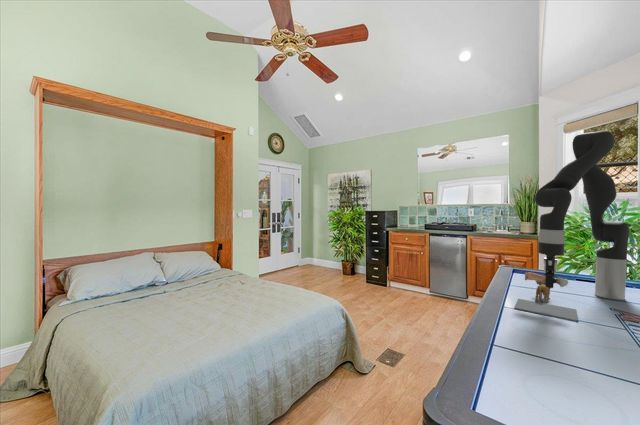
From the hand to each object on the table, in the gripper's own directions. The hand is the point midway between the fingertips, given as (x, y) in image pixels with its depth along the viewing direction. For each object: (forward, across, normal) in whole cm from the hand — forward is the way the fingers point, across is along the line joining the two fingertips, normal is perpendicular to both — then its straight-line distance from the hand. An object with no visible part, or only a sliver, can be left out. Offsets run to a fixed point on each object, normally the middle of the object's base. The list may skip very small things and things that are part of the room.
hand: (549, 285), depth 105 cm
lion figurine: (+10, +15, +3) cm, 18 cm away
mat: (+9, 0, +1) cm, 10 cm away
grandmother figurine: (-2, 0, +8) cm, 8 cm away
